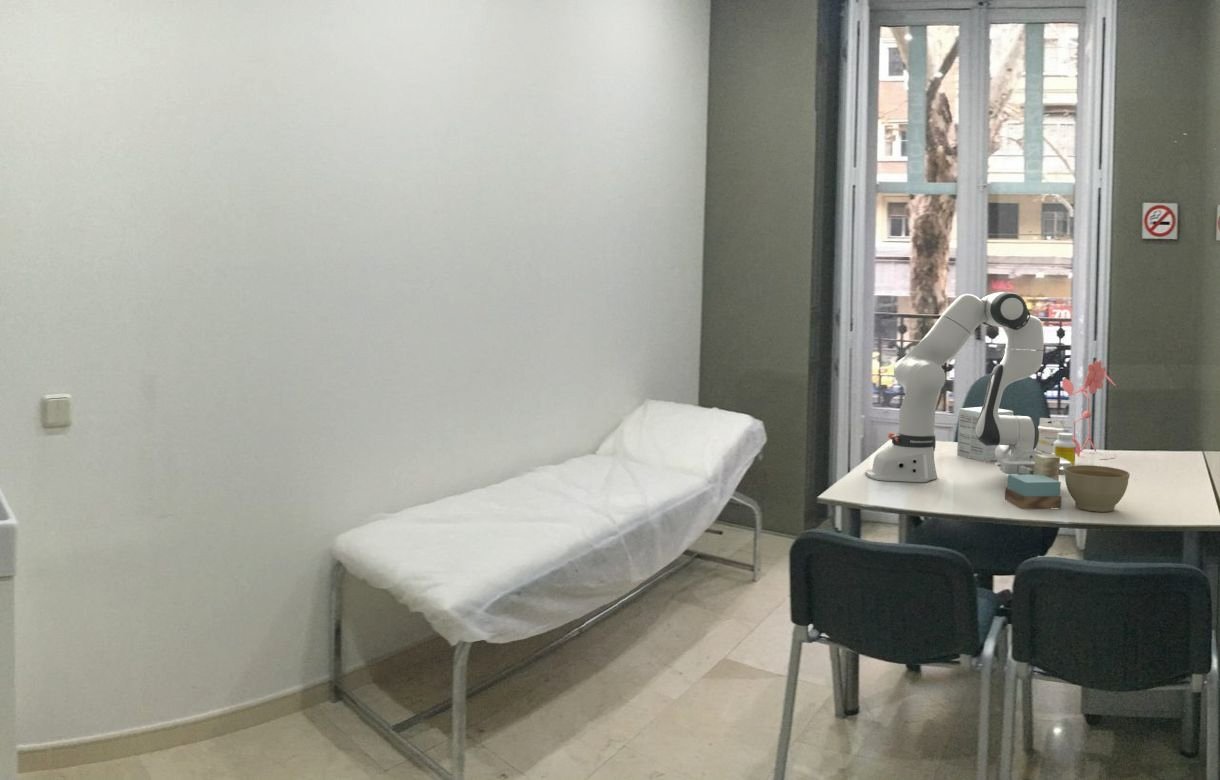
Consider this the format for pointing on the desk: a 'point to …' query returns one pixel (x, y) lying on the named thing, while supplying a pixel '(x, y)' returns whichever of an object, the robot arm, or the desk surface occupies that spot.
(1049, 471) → the ash pillar block
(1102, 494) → the planter bowl
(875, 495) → the desk surface
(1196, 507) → the desk surface
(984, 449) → the supplement box
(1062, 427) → the ink cartridge box
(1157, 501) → the desk surface
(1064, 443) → the supplement bottle
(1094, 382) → the pink flower sculpture
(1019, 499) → the walnut base block
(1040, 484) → the teal top block
